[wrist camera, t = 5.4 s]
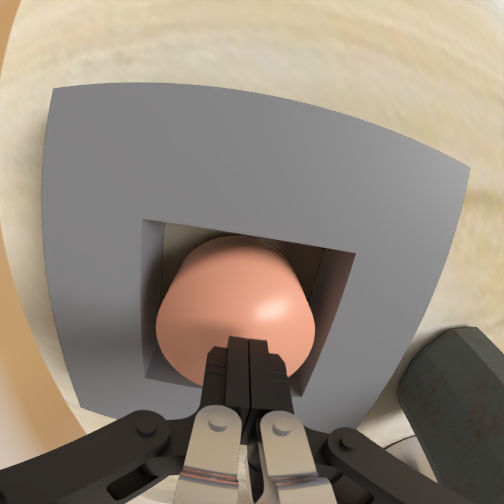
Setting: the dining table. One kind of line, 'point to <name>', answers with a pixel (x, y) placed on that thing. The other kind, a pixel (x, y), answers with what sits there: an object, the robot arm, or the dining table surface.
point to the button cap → (234, 305)
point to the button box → (237, 221)
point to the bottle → (459, 412)
